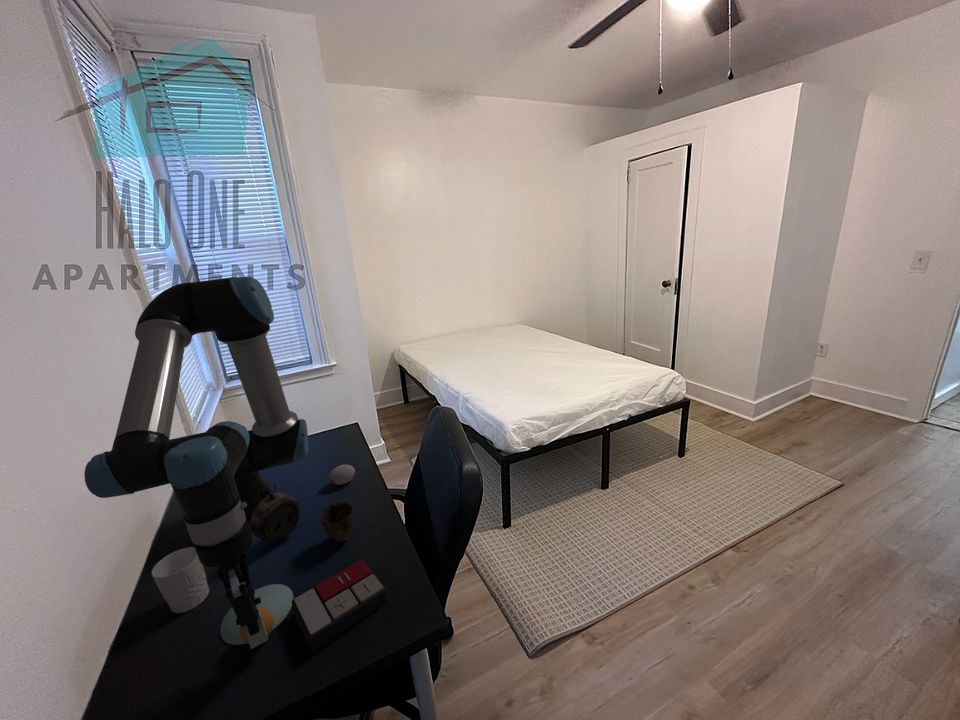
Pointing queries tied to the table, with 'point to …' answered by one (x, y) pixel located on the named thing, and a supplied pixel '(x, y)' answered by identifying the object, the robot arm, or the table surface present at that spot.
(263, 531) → the alarm clock
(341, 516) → the dark brown rounded lump
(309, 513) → the table surface
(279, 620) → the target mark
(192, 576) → the white cup
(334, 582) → the calculator
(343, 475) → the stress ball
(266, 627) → the ball
